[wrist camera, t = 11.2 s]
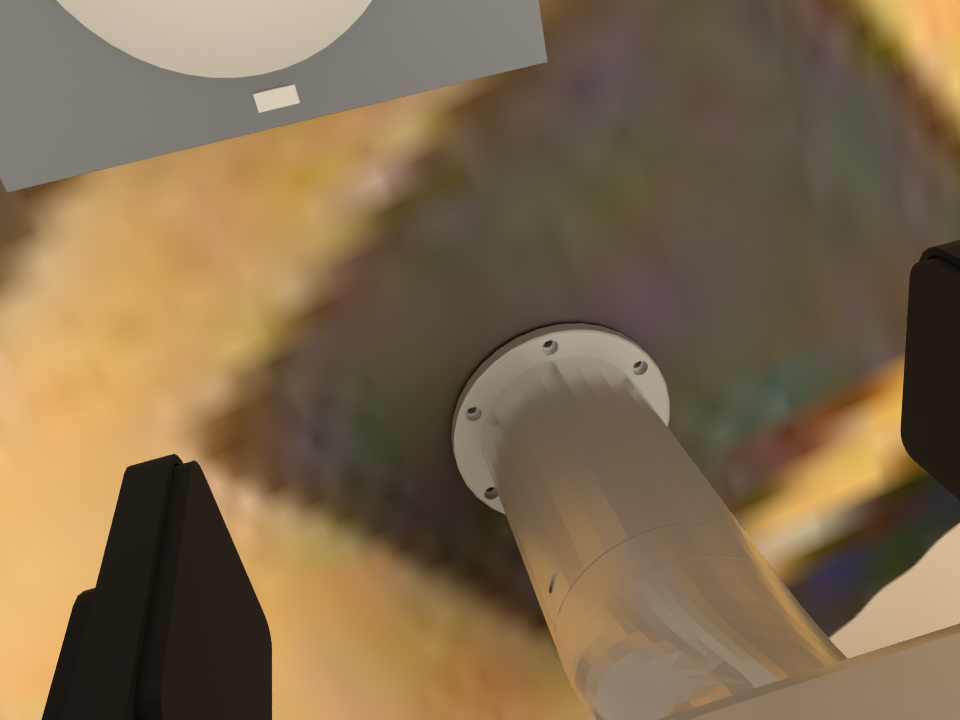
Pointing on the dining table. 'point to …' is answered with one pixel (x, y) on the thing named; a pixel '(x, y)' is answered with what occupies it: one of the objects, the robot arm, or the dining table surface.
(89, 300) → the dining table surface
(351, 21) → the dial
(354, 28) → the dial board
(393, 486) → the dining table surface
